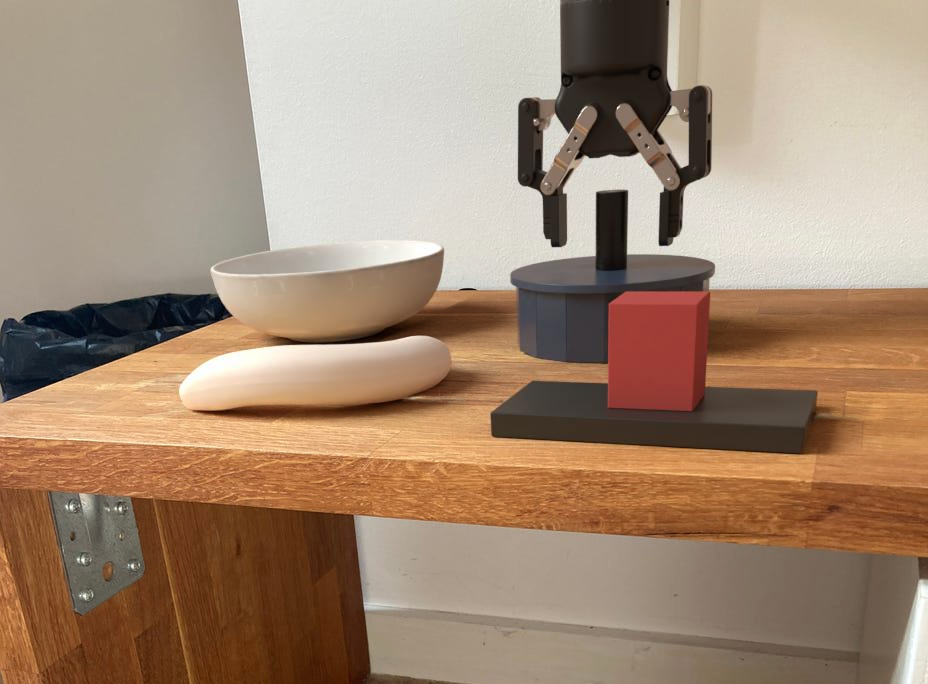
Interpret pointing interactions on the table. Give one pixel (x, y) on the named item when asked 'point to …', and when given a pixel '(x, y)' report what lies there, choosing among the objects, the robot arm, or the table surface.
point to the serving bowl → (330, 288)
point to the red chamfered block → (658, 350)
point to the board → (660, 418)
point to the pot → (571, 323)
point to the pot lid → (612, 261)
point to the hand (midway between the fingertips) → (611, 245)
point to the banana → (318, 374)
